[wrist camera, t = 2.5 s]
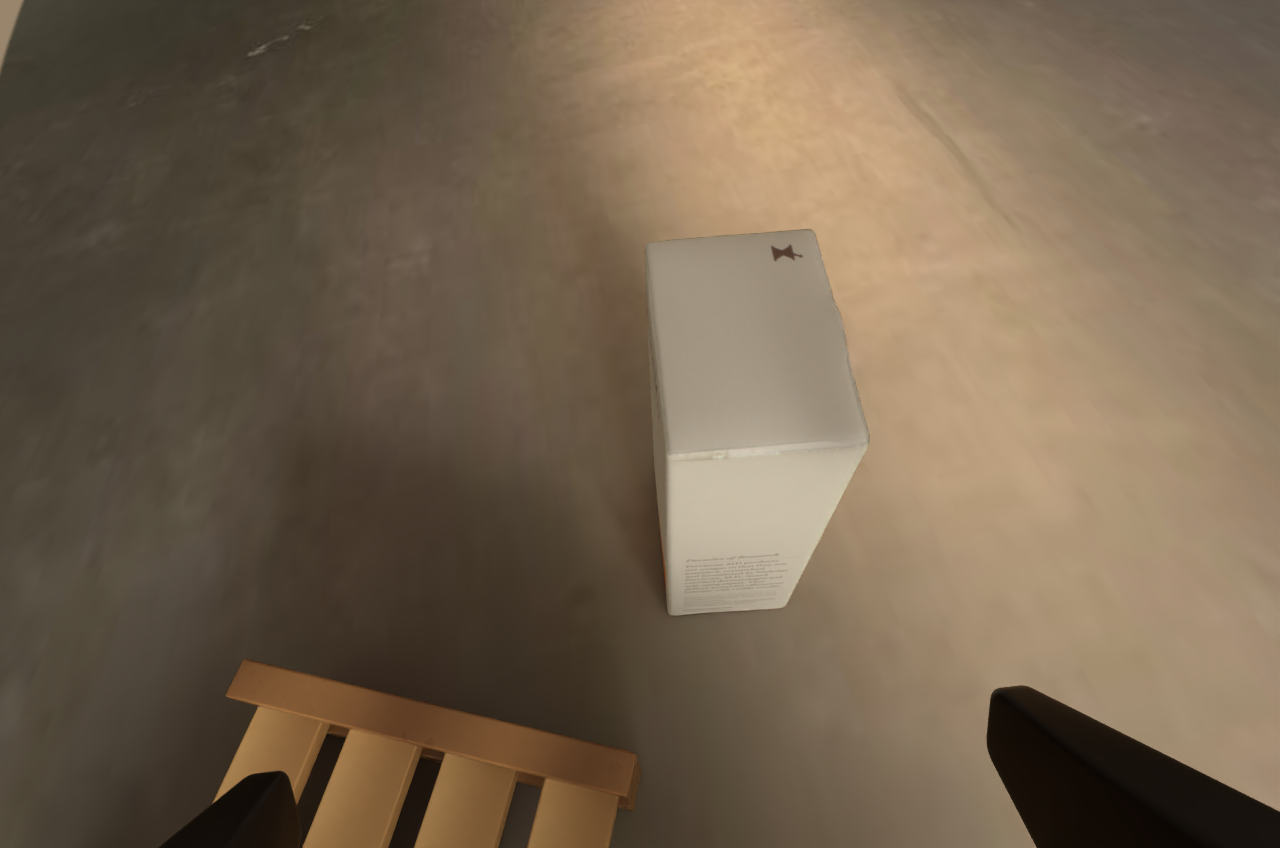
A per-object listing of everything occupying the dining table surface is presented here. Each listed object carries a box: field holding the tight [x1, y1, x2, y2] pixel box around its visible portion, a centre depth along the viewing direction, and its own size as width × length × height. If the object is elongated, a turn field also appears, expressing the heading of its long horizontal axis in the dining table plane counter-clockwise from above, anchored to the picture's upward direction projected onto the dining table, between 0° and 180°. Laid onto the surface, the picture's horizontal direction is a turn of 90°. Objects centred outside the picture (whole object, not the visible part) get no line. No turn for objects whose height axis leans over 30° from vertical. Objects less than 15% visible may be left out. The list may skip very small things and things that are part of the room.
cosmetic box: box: [645, 229, 870, 616], centre depth 20 cm, size 6×4×12 cm
